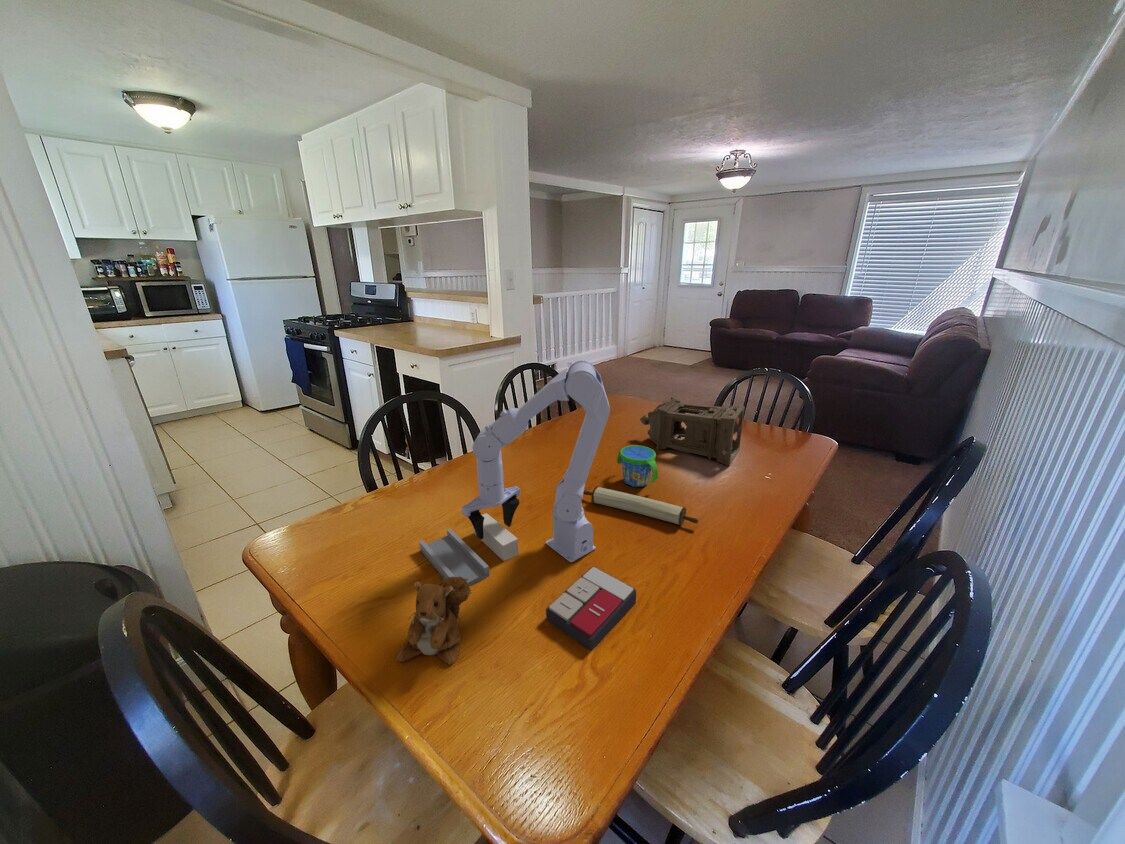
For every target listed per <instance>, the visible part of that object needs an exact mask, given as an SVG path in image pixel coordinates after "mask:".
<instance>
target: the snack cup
mask: <svg viewBox="0 0 1125 844" xmlns="http://www.w3.org/2000/svg"><path fill="white" fill-rule="evenodd" d="M656 457H657V454H656V452H655V450H654V449H652V448H650V447H648V446H644V445H636V444H633V445H632V444H631V445H626V446H624V447H622V448H620V449H619V451H618V454H617V457H616V462H617V464H620V465H621V466H622V467H621V468H622V469H621V470H622V478H623V480H622V481H623V482H624V483H625V484H626V485H628V486H631V487H632V488H635V487H636V488H641V487H646V485H648V483H649V480H650V478H651V480H650V483H655V482H656V481H658V479H659V472H658V470H659V469H658V465H657V462H656ZM651 472H652V473H651ZM651 474H652V476H651Z"/></svg>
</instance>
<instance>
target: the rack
mask: <svg viewBox="0 0 1125 844" xmlns="http://www.w3.org/2000/svg"><path fill="white" fill-rule="evenodd" d="M446 532H447V535H444V536H443V537H441V538H439V539H436V540H433V541H431V542H429V543H427V542H426V541H425V540H424V539H423V540H420V541H419V542H418V543H419V549H420V552H421V553H422V554H423V556H424V557H425V558H426V559H427V560H428V561H429V563H430V564H431V565H432V567H434V569H435V570H436V571H437V572H438V573H439V575H440V576H441V577H442V579H444V580H445V578H448V577H460V576H461V577H463V578H465V579H467V578H468V581H467V582H468V583H469V587H470V586H472V585H474V584H476V583H478V582H480V581H483V580H484V579H486V578H488V577H490V565H488V564H487V563H486V562H485V561H484V560H483V559H482V558H481V557H480V556H479V554H477V553H476V552H475V551H474V550H473V549H472V548H471V547H470V545H468V544H467V543H466V542H465V541H464V540H463V539H462V538H461V537H460V536H458V534H457V533H455V531H453V529H452V528H448V529H447V530H446Z"/></svg>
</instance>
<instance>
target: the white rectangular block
mask: <svg viewBox="0 0 1125 844" xmlns="http://www.w3.org/2000/svg"><path fill="white" fill-rule="evenodd" d="M481 515H482V516H483V517H484V522H483V533H484V537H483V539H480V538H478V539H479V540H481V542H483V543H484V544H485V545H486V546H487V547H488V549H490V550H491V551H492V552H493V553H494V554H496V556H498V557H499V558H500V559H501V560H502V561H503V562H506V561H507V560H510V559H512V558H514V557H516V556H517V555H519V553H520V552H519V551H520V550H519V538H518V537H516V536H515V535H514V534H513V533H511V532H510V531H509V530H508V529H507V528H506V527H504V526H503V525H502V524H501V523H500V522H498V521H497V520H496V519H494V518H493V517H492V516H491V515H490V514H488V512H486V513H483V514H481ZM472 529H473V534H474V535H475V536H476V537H477V535H476V532H475V529H474V527H473V526H472Z"/></svg>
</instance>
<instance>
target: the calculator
mask: <svg viewBox="0 0 1125 844" xmlns="http://www.w3.org/2000/svg"><path fill="white" fill-rule="evenodd" d="M636 603H637V589H636V588H635V587H633V586H631V585H629V584H627V583H625V582H623V581H621V580H619V579H618V578H616V577H614V576H612V575H610V574H608V573H606V572H605V571H603V570H601V569H600V568H598V567H596V566H591V567H590V568H588V570H587V571H585V572H584V573H583V574H582V575H581V576H580V577H579V578H578V579H577V580H576V581H574V582H573V584H572V585H570V586H569V587H568V588H567V589H565V591H564V592H562V593H561V594H560V596H558V597H557V598H556V599H555V600H553V602H552V603H550V604H549V605H548V606H547V607H546V609H545V615H546V617H545V618H546V621H547V622H549V623H550V624H551V625H553V626H554V627H556V628H557V629H558V630H560V631H562V632H563V633H565V634H566V635H568V636H569V637H570V638H572V639H573V640H575V641H576V642H577V643H579V644H580V645H582V646H583V647H585V648H586V649H587V650H589V651H594V649H595V648H596V647H597V646H598V645H599V644H600V643H601V641H603V640H604V638H605V637H606V636H607V635H608V634H609V633H610V632H611V631H612V629H613V628H614V627H615V626H616V625H617V624H618V623H619V621H621V619H622V618H623V617H625V616H626V615H627V614H628V612H630V611H631V609H632V608H633V607H634V606H635V605H636Z"/></svg>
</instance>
